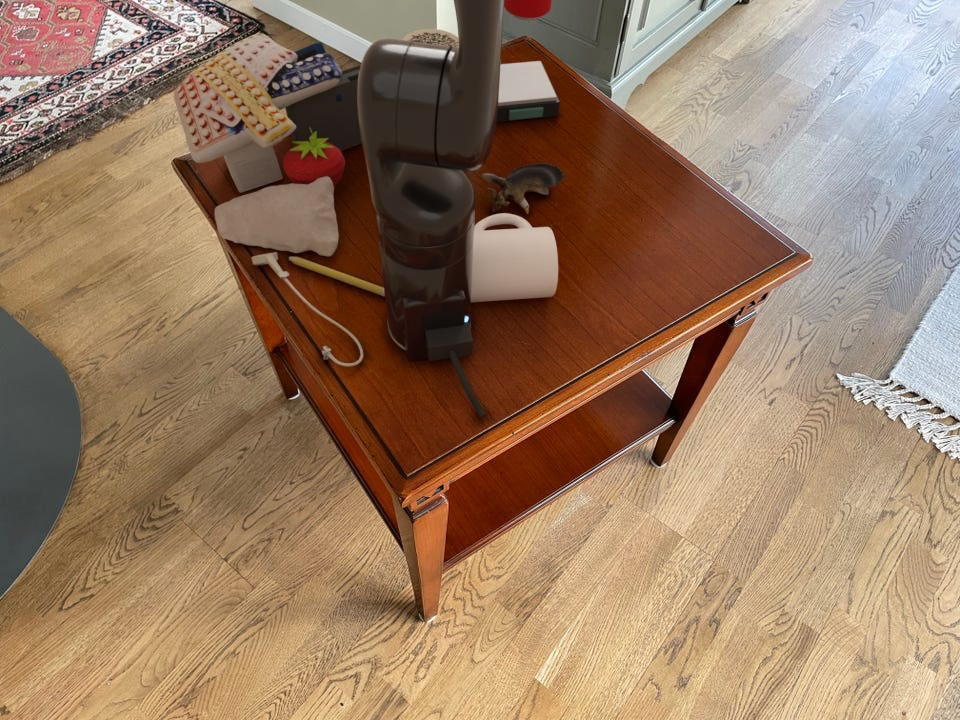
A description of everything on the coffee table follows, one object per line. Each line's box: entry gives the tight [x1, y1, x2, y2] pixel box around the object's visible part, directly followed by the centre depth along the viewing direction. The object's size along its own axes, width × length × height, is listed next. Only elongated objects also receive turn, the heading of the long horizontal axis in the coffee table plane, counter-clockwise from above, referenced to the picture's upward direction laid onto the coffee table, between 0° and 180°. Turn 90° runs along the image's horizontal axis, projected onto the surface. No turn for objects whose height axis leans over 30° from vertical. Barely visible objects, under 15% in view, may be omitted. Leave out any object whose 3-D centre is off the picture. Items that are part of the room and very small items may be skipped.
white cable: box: [251, 251, 364, 368], centre depth 80 cm, size 5×3×20 cm
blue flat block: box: [293, 41, 342, 102], centre depth 94 cm, size 7×14×1 cm
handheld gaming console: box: [285, 64, 362, 152], centre depth 95 cm, size 23×3×10 cm, turn 124°
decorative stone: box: [214, 176, 340, 257], centre depth 85 cm, size 10×4×15 cm
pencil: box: [284, 255, 385, 298], centre depth 83 cm, size 1×14×1 cm, turn 67°
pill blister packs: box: [173, 33, 343, 164], centre depth 85 cm, size 21×6×15 cm
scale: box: [496, 60, 561, 123], centre depth 104 cm, size 10×10×3 cm
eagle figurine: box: [481, 162, 566, 214], centre depth 90 cm, size 8×7×9 cm
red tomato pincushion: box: [282, 128, 346, 188], centre depth 87 cm, size 6×8×10 cm
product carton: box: [223, 142, 284, 194], centre depth 90 cm, size 6×6×7 cm
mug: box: [471, 212, 559, 303], centre depth 81 cm, size 12×10×8 cm
